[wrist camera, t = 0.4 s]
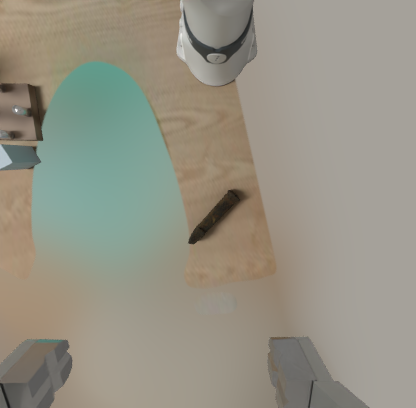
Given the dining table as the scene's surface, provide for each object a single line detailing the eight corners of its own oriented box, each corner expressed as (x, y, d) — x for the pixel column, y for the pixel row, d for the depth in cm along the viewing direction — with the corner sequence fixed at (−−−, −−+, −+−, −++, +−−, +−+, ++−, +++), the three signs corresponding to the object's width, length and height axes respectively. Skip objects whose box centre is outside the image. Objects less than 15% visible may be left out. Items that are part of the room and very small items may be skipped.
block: (18, 153, 54) (-15, 152, 46) (31, 146, 54) (0, 144, 46) (27, 168, 55) (-3, 170, 47) (41, 162, 54) (12, 162, 47)
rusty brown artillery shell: (229, 187, 55) (230, 190, 50) (239, 197, 55) (241, 201, 51) (182, 233, 58) (179, 239, 54) (192, 242, 59) (190, 249, 54)
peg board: (-16, 86, 51) (-41, 78, 46) (34, 86, 50) (15, 78, 45) (-5, 140, 53) (-27, 138, 49) (43, 140, 53) (25, 138, 48)
